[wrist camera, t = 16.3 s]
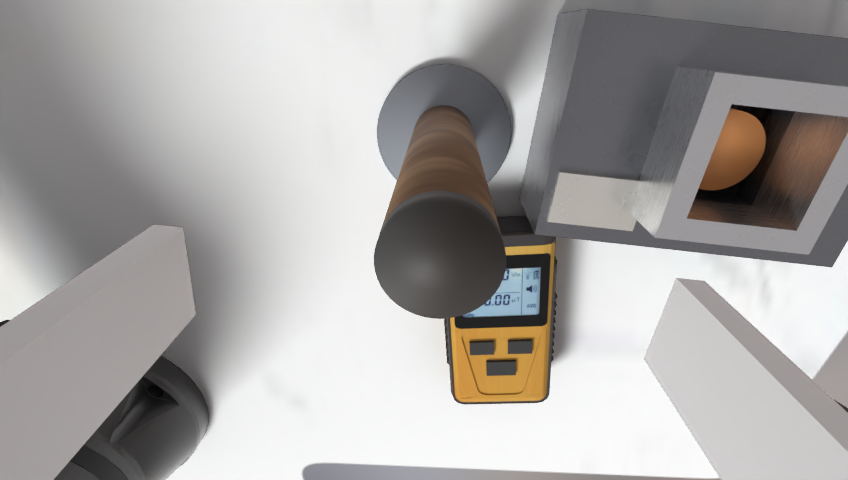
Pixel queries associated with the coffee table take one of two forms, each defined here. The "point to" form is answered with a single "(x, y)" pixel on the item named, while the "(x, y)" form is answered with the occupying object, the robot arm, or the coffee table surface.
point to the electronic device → (508, 326)
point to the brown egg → (735, 151)
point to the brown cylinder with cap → (441, 223)
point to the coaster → (452, 90)
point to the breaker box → (690, 137)
